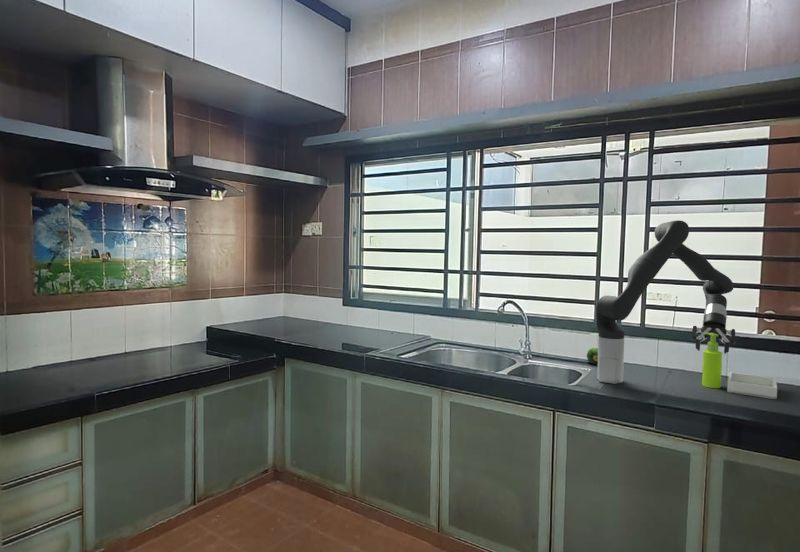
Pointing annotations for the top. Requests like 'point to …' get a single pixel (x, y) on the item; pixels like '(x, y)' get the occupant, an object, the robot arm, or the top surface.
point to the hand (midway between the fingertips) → (711, 350)
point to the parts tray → (752, 385)
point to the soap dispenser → (712, 364)
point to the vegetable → (593, 355)
